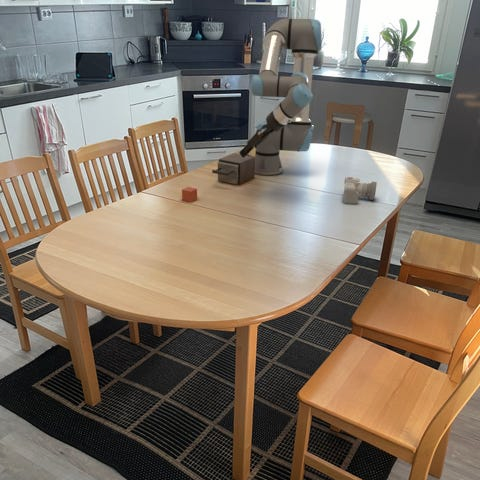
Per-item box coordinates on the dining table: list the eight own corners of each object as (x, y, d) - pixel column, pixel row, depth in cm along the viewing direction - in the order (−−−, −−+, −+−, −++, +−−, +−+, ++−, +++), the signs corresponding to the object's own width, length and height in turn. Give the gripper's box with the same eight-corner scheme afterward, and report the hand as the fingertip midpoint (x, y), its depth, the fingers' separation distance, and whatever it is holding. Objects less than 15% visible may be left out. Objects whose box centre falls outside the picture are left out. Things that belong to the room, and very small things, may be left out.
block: (182, 200, 204) (181, 189, 202) (188, 197, 207) (188, 186, 205) (190, 202, 202) (190, 191, 200) (197, 199, 206) (196, 188, 203)
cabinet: (239, 185, 223) (240, 163, 217) (218, 180, 227) (218, 159, 222) (254, 178, 232) (255, 156, 227) (233, 174, 237) (234, 153, 232)
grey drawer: (229, 187, 217) (229, 169, 212) (210, 183, 221) (209, 165, 216) (250, 177, 230) (251, 159, 226) (231, 173, 234) (232, 156, 230)
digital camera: (368, 215, 204) (372, 194, 197) (335, 208, 209) (338, 187, 201) (377, 195, 215) (381, 174, 208) (346, 189, 219) (348, 168, 212)
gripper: (277, 128, 190) (239, 165, 206) (291, 123, 199) (254, 158, 215) (265, 112, 189) (228, 150, 205) (280, 107, 199) (244, 144, 215)
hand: (241, 154), depth 210 cm, fingers closed
